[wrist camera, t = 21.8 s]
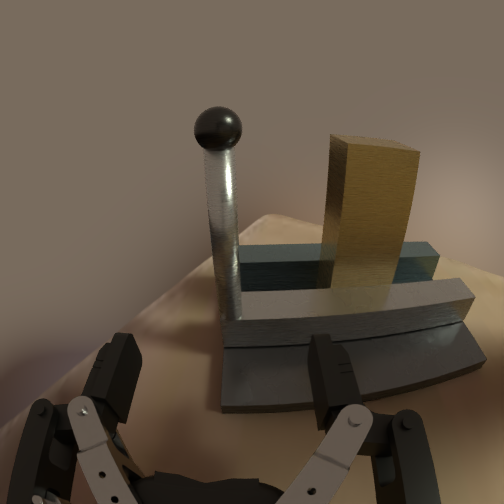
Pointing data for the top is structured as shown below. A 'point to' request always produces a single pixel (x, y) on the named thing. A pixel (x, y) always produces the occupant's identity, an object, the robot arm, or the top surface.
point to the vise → (360, 350)
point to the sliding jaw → (302, 301)
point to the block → (365, 210)
